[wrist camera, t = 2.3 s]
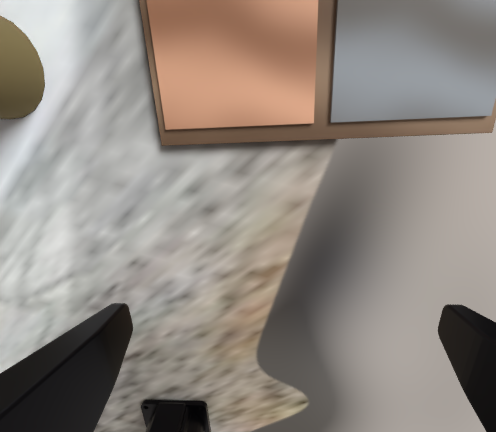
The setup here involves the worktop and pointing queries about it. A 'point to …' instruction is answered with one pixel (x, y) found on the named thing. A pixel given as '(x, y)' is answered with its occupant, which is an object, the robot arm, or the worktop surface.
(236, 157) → the worktop surface
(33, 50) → the cork
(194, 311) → the worktop surface
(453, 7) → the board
